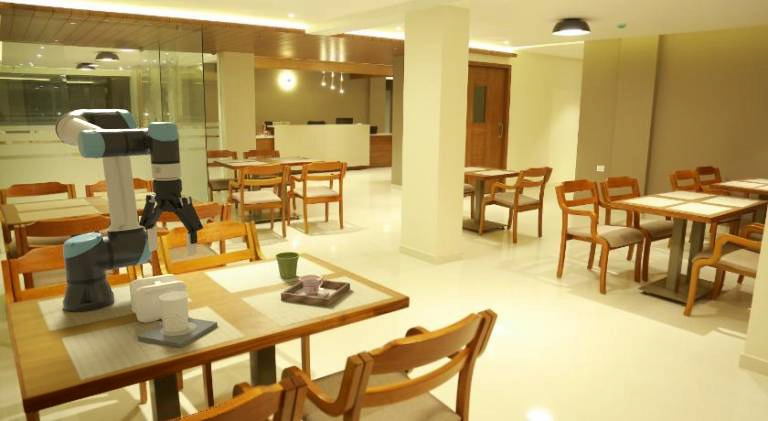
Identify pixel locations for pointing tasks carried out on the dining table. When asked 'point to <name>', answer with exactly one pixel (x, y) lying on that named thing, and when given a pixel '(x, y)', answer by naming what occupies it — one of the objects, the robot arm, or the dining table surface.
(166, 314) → the white cup
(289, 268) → the plant pot
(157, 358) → the dining table surface
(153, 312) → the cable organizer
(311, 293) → the teacup
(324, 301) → the teacup tray rim
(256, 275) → the dining table surface
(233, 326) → the dining table surface
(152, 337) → the slate mat
